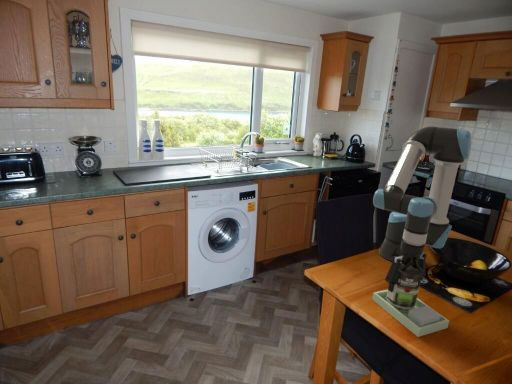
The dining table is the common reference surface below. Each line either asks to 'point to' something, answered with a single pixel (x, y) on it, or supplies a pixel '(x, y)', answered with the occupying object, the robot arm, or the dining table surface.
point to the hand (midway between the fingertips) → (401, 295)
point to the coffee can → (407, 288)
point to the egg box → (423, 316)
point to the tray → (403, 315)
